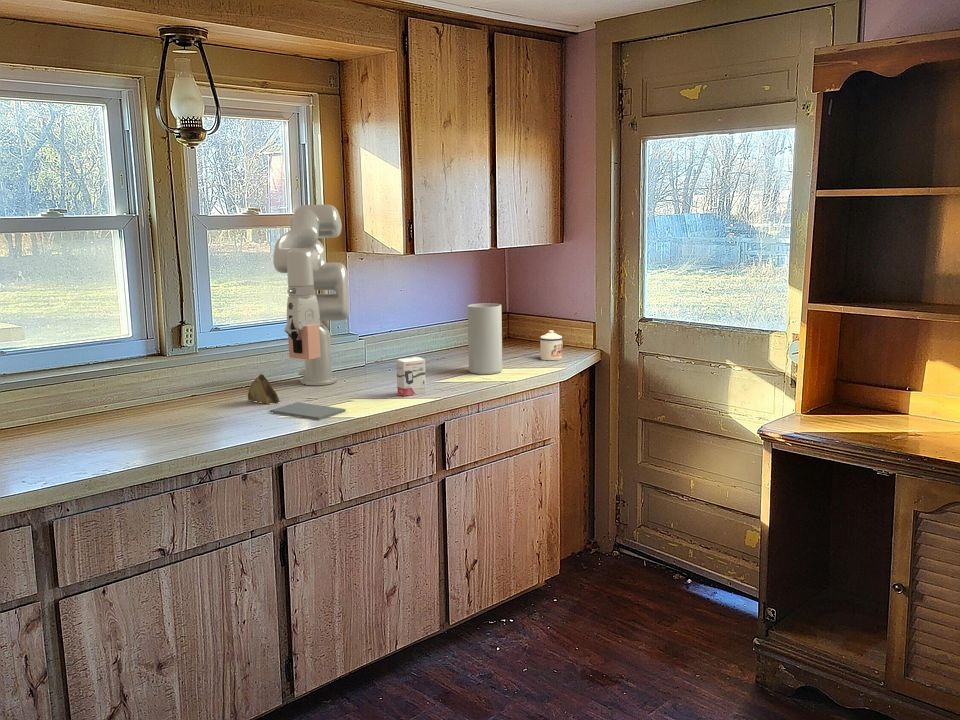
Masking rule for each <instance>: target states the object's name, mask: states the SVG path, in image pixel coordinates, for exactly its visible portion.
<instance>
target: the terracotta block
mask: <svg viewBox="0 0 960 720" xmlns="http://www.w3.org/2000/svg"><path fill="white" fill-rule="evenodd" d="M296 335H297V332H296ZM287 338H288V339H287V340H288V357H289V359H291V358H292V359H297V360H298V359H299V360H304V359H308V360H310V359H314V358H319V357H321V356H320V337H319V324H314V325H308V326H304V330H301V337H300V340H302V353H294V352H293V340H291V337H290V336H289V335H288V334H287Z"/></svg>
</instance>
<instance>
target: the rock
mask: <svg viewBox="0 0 960 720" xmlns="http://www.w3.org/2000/svg"><path fill="white" fill-rule="evenodd" d="M247 400H248V401H249V400H250V402H253V401H257V402H256V403H258V402H262V403H261V404H264V403H267V405H271V404H270V403H275V404H279V403H278V402H281V400H280V397H279V396H278V394H277V392H276V390H274V388H273V386H272V384H271V382H269V381H268V379H267V378H266V376H265V375H264V374H263V373H260V374H259V375H258V376H257V377H256V378H255V379H254V380H253V382H252V383H251V384H250V386H249V389H248V392H247Z"/></svg>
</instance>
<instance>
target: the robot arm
mask: <svg viewBox="0 0 960 720" xmlns="http://www.w3.org/2000/svg"><path fill="white" fill-rule="evenodd" d="M289 228H290V230H288V231H287V232H285V233H284V234H282V235H281V236H280V237H278V239H277V240H276V242H275V245H274V250H273V257H272V258H273V259H272V260H273V261H272V262H273V267H274V268H275V271H276V272H278V273H281V274H287V287H288V289H287V294H288V296H287V300H286V301H287V302H286V326H285V328H284V332H285V333H286V334H287V336H288V335H289V336H290V337H291V340H293V352H294V353H302V340H300V337H301V330H304V326H308V325H314V324H319V337H320V356H321V357H319V358H314V359H310V360H308V359H303V360H304V369H303V368H302V369H300V370H298V375H299V376H303V377H302V378H301V380H300V383H301V384H302V385H304V384H305V386H326V385H331V384H335V383H337V381H338V379H337V377H336V376H333V363H332V343H331V341H332V339H331V333H330V330H329V329H328V327H327V326H326V325H325V324H324V323H323V322H330V321H331V322H334V321H337V322H338V321H345V320H347V319H348V318H349V316H350V295H349V294H350V293H349V292H350V291H349V277H348V276H349V275H348V270H347V267H346V266H345V265H344V264H343V263H341V262H327V261H326V249H325V247H324V245H323V244H322V242H321V241H320V240H319V239H333V238H334V239H335V238H338V237H339V236H340V235H341V233H342V228H343V225H342V219H341V216H340V213H339V211H338V209H337V208H336V206H334V205H332V204H303V205H299V207H298V206H297V208H296V209H295V210H294V213H293V215H292V216H291V217H290V218H289ZM315 291H334V292H335V293H315ZM296 332H297V335H296Z"/></svg>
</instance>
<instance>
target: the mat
mask: <svg viewBox="0 0 960 720" xmlns="http://www.w3.org/2000/svg"><path fill="white" fill-rule="evenodd" d="M345 411H346V412H347V408H343V407H342V408H341V407H340V408H339V407H335V406H327V405H321V404H320V405H319V404H312V403H305V402H296V401H295V402H293V403H291V404H286V405H283V406H279V407H276V408H272V409H269V413H270V412H273V413H272V414H276V413H278V414H277V415H282V414H284V415H283V416H289V415H290V417H296V418H301V419H302V418H304V419H309V420H316V421H320V420H323V419H327V418H330V417H334V416H336V414H337V415H339V413H340V414H343V413H345ZM342 412H343V413H342Z"/></svg>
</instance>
